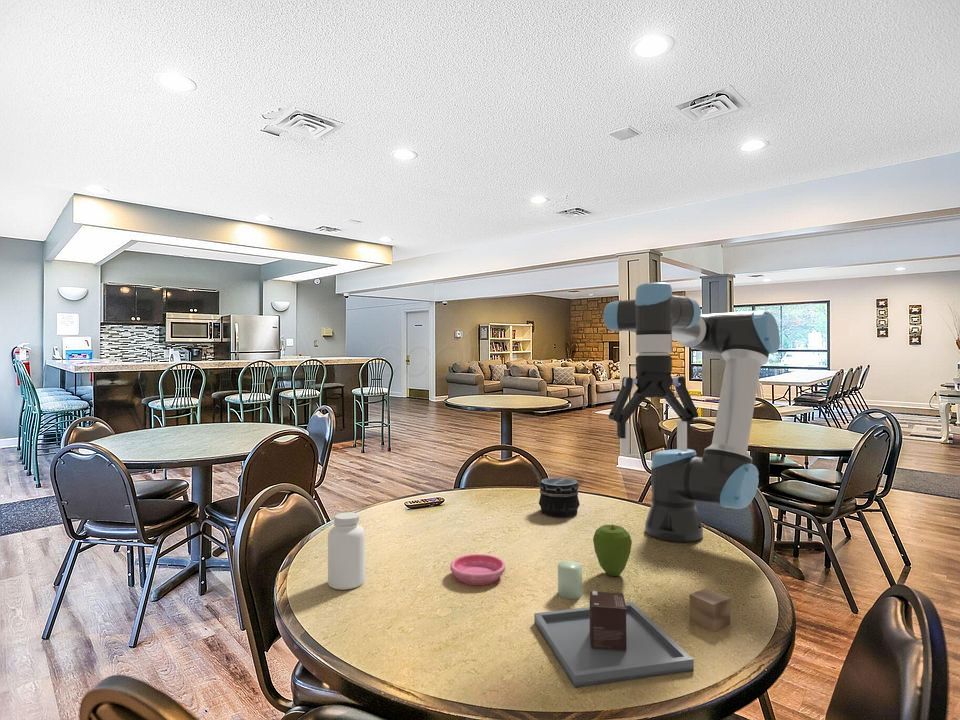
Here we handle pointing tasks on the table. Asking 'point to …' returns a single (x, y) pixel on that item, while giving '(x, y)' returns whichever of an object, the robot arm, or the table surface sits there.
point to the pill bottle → (346, 552)
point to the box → (607, 621)
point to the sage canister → (569, 580)
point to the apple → (612, 548)
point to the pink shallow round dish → (477, 569)
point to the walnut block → (710, 609)
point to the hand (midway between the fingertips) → (653, 451)
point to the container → (559, 497)
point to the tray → (594, 666)
